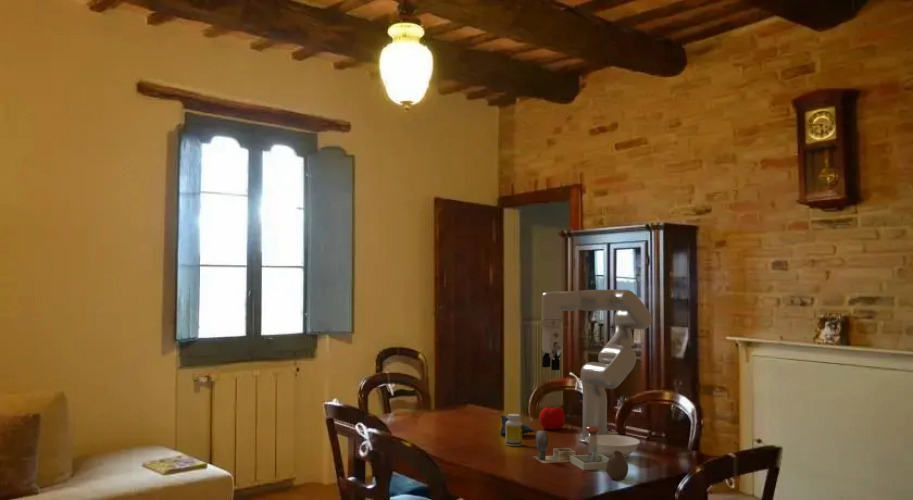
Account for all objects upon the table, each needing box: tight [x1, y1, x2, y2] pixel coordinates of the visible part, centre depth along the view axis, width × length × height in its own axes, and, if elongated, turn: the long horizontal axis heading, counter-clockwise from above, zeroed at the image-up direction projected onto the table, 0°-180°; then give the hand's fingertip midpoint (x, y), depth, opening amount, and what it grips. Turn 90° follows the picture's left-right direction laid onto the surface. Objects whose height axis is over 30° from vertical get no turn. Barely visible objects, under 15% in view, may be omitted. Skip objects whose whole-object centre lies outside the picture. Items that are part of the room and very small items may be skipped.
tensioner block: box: [532, 430, 577, 464], centre depth 276 cm, size 14×10×11 cm
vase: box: [606, 451, 629, 481], centre depth 254 cm, size 7×7×9 cm
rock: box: [500, 414, 536, 437], centre depth 322 cm, size 16×8×10 cm
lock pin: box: [586, 426, 600, 463], centre depth 268 cm, size 5×5×13 cm
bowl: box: [585, 434, 641, 458], centre depth 285 cm, size 20×20×6 cm
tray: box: [569, 454, 610, 474], centre depth 268 cm, size 12×12×3 cm
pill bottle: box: [504, 413, 523, 447], centre depth 304 cm, size 6×6×12 cm
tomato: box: [538, 404, 566, 430], centre depth 339 cm, size 11×13×10 cm
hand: (550, 368), depth 300 cm, fingers open, 9 cm apart
